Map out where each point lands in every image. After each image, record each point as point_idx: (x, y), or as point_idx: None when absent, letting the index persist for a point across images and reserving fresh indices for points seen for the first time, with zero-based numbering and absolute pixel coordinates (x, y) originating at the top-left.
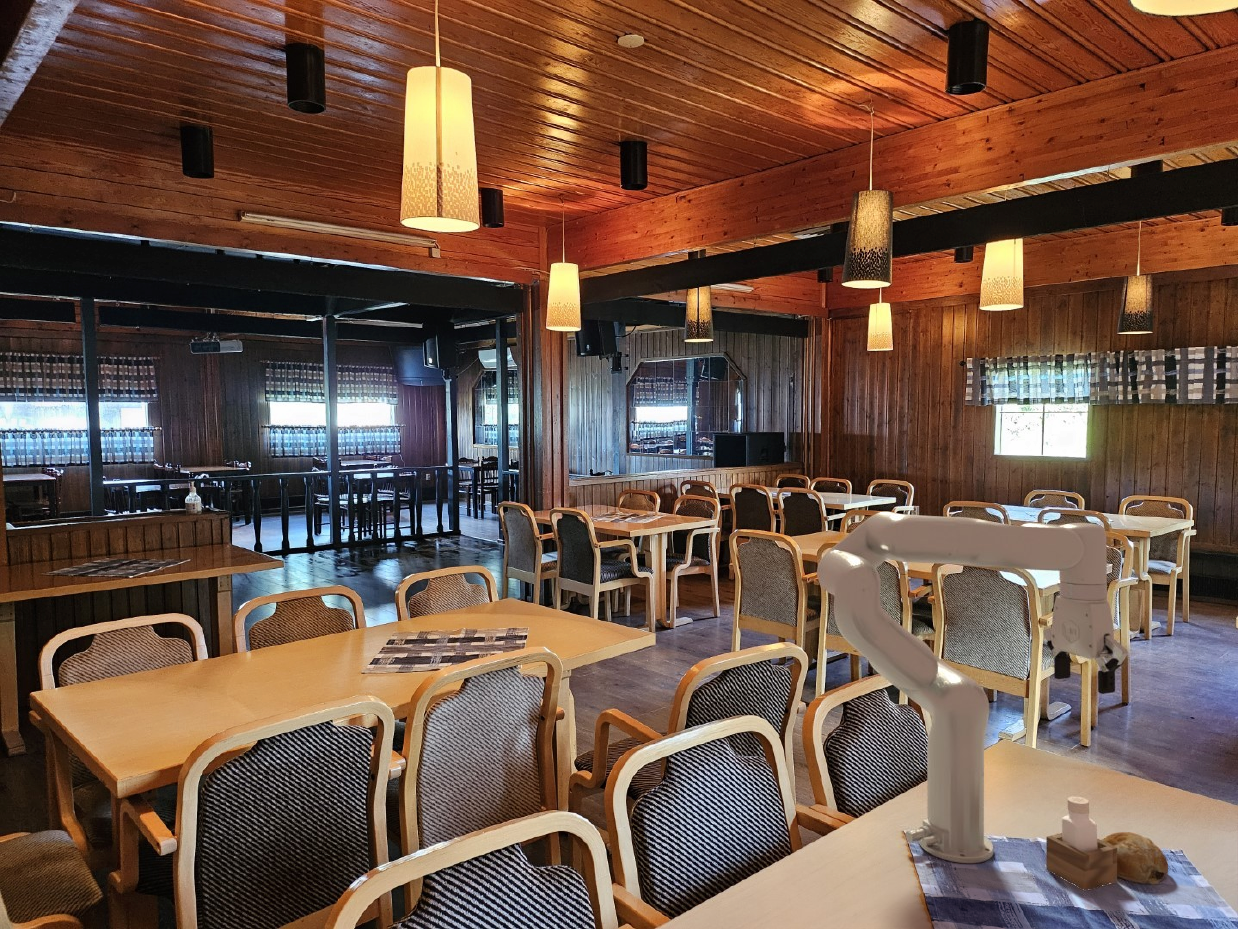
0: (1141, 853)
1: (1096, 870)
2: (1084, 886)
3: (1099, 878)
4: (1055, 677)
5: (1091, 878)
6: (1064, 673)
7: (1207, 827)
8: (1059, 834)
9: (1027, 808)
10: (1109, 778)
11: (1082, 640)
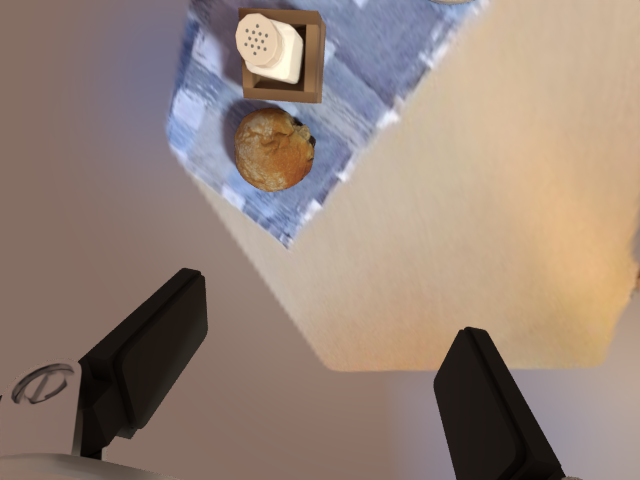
0: (239, 137)
1: None
2: None
3: None
4: (478, 329)
5: None
6: (452, 380)
7: (308, 315)
8: (313, 47)
9: (463, 194)
10: (438, 353)
11: None
